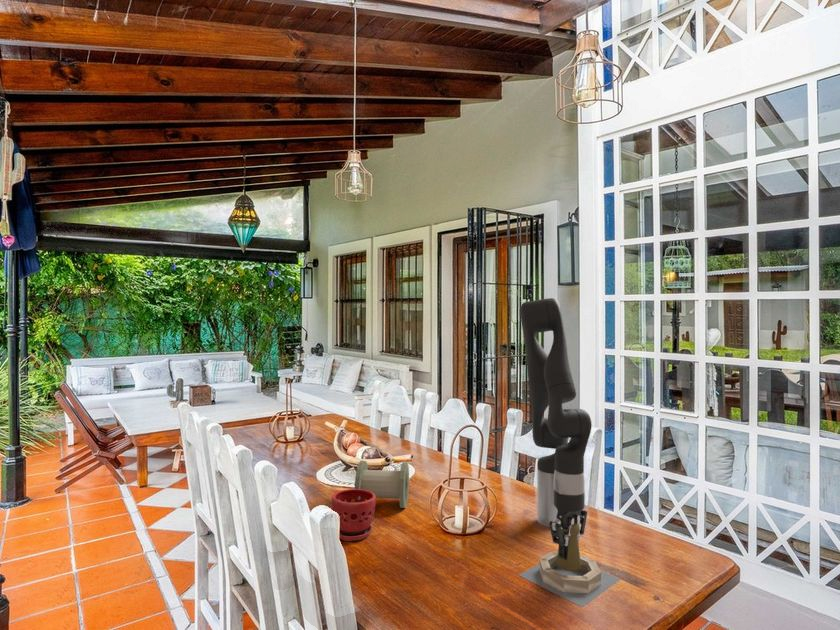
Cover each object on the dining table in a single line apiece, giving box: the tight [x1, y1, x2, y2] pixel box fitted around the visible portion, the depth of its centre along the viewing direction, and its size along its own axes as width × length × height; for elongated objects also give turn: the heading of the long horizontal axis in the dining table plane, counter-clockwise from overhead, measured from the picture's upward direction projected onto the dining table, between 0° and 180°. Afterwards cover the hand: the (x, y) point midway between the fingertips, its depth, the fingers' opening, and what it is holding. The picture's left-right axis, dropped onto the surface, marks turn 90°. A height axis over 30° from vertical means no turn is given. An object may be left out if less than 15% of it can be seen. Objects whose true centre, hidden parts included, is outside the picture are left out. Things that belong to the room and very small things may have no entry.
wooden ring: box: [538, 550, 602, 593], centre depth 126 cm, size 14×14×3 cm
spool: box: [354, 460, 410, 509], centre depth 173 cm, size 16×15×15 cm
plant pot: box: [331, 488, 377, 542], centre depth 151 cm, size 13×13×12 cm
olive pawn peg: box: [556, 522, 581, 571], centre depth 126 cm, size 6×6×11 cm
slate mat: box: [518, 563, 621, 608], centre depth 126 cm, size 18×18×1 cm
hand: (568, 555), depth 126 cm, fingers closed on olive pawn peg, 4 cm apart
